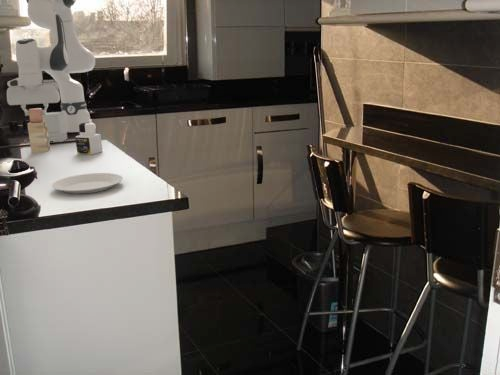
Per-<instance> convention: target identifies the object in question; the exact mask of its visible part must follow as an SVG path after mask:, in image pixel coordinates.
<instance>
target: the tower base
mask: <svg viewBox="0 0 500 375" xmlns="http://www.w3.org/2000/svg"><path fill="white" fill-rule="evenodd" d="M50 143H51V142H49V140H48V141H46V142H42V143H30V142H29V144H30V149H31V154H33V153H47V152H48V151H50V150H51V144H50Z"/></svg>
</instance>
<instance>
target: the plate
mask: <svg viewBox="0 0 500 375" xmlns="http://www.w3.org/2000/svg"><path fill="white" fill-rule="evenodd" d="M123 179H124V177H123V176H122V175H120V174H117V173H109V172H108V173H107V172H105V173H104V172H97V173H95V172H94V173H85V174H84V173H83V174H78V175H73V176H68V177H64V178H60V179H58V180H56V181H54V182H53V183H52V184H51V187H52V188H53V189H54V190H57V191H62V192H65V193H67V194H75V195H83V194H94V193H98V192H102V191H105V190H108V189H111V188H112V187H113V186H115V185H117V184H119V183H121V182H122V181H123Z"/></svg>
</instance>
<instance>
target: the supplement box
mask: <svg viewBox="0 0 500 375" xmlns="http://www.w3.org/2000/svg"><path fill="white" fill-rule="evenodd" d="M43 121H46V123H47V130H48V136H49V143H51V142H50V141H53V142H52V143H62V142H65V141H66V139H67V140H68V132H66V125H65V117H64V112H62V111H51V112H47V114H46V115H43ZM64 140H65V141H64Z"/></svg>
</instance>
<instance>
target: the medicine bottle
mask: <svg viewBox="0 0 500 375" xmlns="http://www.w3.org/2000/svg"><path fill="white" fill-rule="evenodd" d="M95 127H96V123H94V122H93V121H92V122H86V123H81V124H79V131H80V132H79V135H76V136H75V137H74V138H75V145H76V147H75V148H76V153H77V155H83V156H84V155H85V156H91V155H95V154H99V153H102V152H103V141H102V135H101V133H96V129H95Z"/></svg>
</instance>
